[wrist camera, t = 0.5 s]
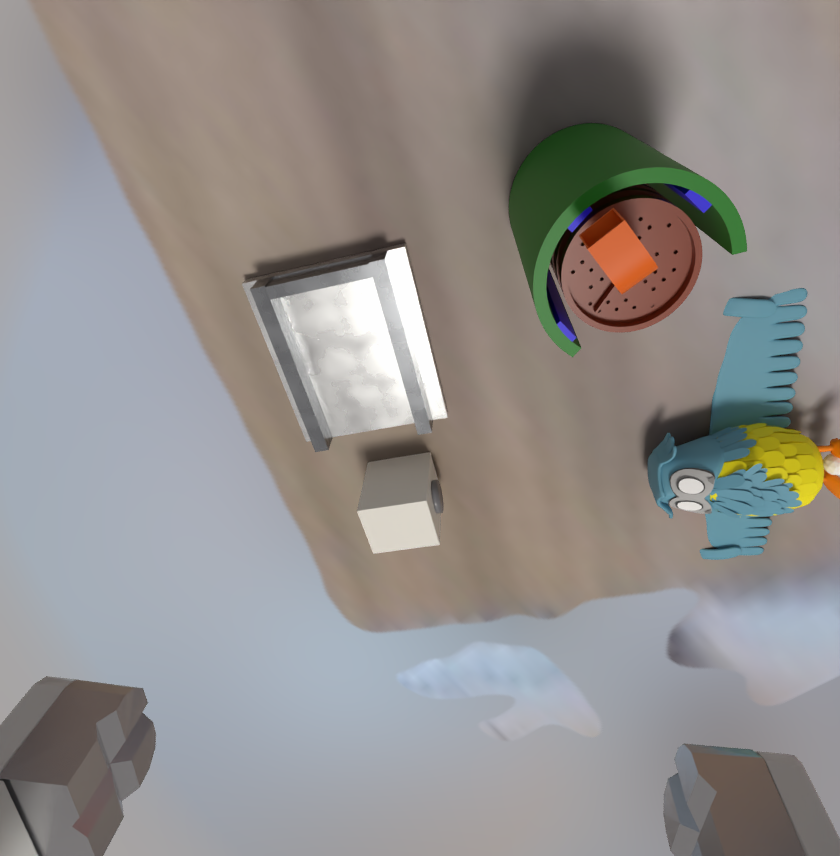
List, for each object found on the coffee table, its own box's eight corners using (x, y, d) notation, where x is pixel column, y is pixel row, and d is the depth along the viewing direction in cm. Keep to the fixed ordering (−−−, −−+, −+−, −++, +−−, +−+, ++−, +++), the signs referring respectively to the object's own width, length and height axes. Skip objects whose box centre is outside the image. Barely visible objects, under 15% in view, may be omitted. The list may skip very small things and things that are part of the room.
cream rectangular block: (368, 462, 56) (357, 511, 50) (435, 451, 55) (431, 499, 49) (382, 502, 59) (373, 553, 53) (446, 492, 58) (444, 544, 52)
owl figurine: (841, 619, 52) (659, 628, 55) (797, 548, 59) (638, 559, 62) (928, 321, 37) (673, 352, 40) (855, 275, 45) (643, 303, 47)
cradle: (245, 279, 47) (233, 292, 45) (405, 243, 45) (402, 255, 42) (308, 435, 55) (301, 454, 52) (447, 411, 53) (447, 429, 50)
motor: (568, 289, 46) (628, 431, 29) (479, 214, 43) (490, 323, 27) (674, 178, 41) (819, 272, 25) (582, 87, 39) (674, 122, 22)
